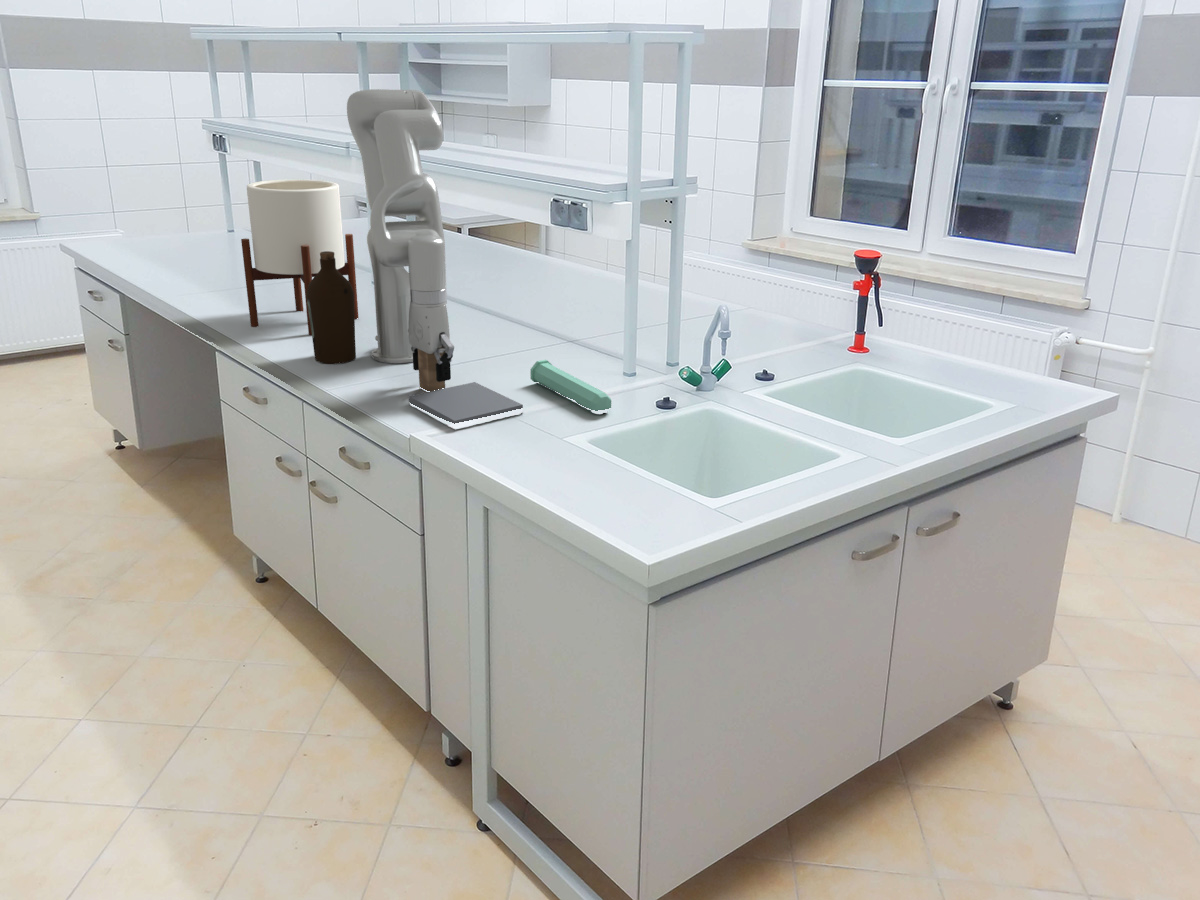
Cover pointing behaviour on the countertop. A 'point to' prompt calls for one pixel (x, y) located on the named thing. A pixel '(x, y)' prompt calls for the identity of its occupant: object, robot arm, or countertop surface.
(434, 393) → the board
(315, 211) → the plant pot with stand
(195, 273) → the countertop surface
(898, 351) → the countertop surface
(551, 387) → the container
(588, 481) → the countertop surface
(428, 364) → the block
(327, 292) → the olive oil
